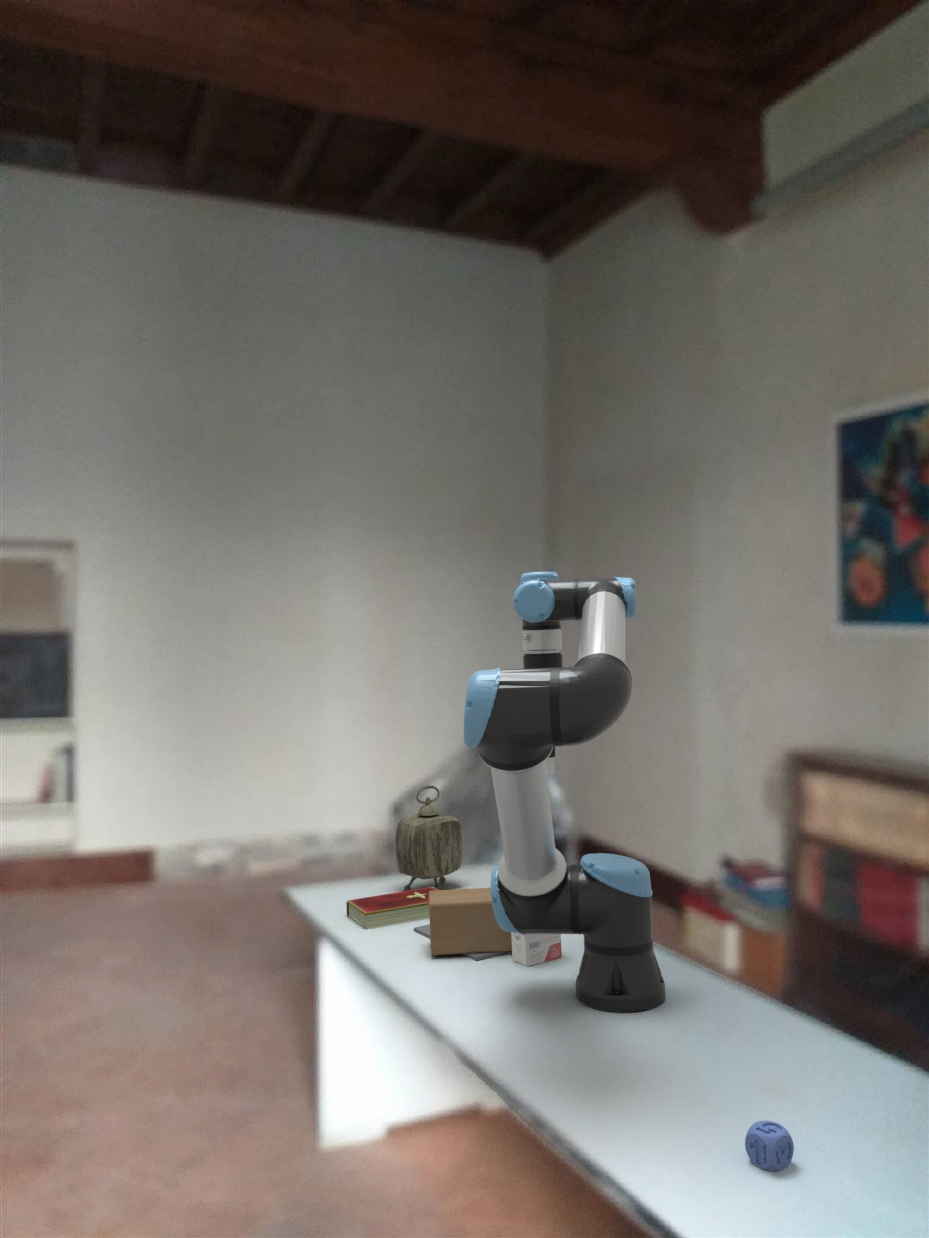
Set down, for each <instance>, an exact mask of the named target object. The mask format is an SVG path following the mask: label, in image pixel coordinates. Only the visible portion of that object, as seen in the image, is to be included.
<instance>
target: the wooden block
mask: <svg viewBox="0 0 929 1238" xmlns="http://www.w3.org/2000/svg"><path fill="white" fill-rule="evenodd" d="M429 917H430V918H429V924H430V938H429V939H430V940H429V941H430V953H431V955H433V956H440V955H441V956H442V955H460V954H462V955H463V954H464V953H483V952H502V951H512V939H511V932H506V931H504V930H503V929H501V928H500V926H499V925H498V923H497V921H496V918H495V915H494V912H493V907H492V897H491V887H476V888H460V889H459V888H458V889H454V888H453V889H440V890H433V891H429Z"/></svg>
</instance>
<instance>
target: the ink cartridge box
mask: <svg viewBox="0 0 929 1238" xmlns="http://www.w3.org/2000/svg"><path fill="white" fill-rule="evenodd" d="M511 939H512V952H511V953H512V954H511V956H512V957H511V958H512V961H513V962H515V963H518V964H520V965H523V966H525V967H530V966H534V965H538V964H542V963H545V962H548V961H551V960H555V959H558V958H561V957H562V956H563V955H562V954H563V953H562V952H563V951H562V934H520V933H513V932H511Z"/></svg>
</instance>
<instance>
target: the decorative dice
mask: <svg viewBox="0 0 929 1238" xmlns="http://www.w3.org/2000/svg"><path fill="white" fill-rule="evenodd" d="M794 1145H795V1144H794V1141H793V1138H792V1136H791V1134H790V1132H789V1131H788V1129H787V1128H786V1127H784V1125H782V1124H781V1123H779V1122H776V1121H774V1120H772V1121H771V1120H758V1121H756V1122H754V1123H753V1124H752V1125H750V1127H749V1128H748V1129H747V1132H746V1135H745V1139H744V1146H745V1147H744V1148H745V1152H746V1154H747V1156H748V1158H749V1160H750V1161H751V1162H752V1164H754V1165H755V1166H756V1167H757V1168H758V1169H761V1170H763V1171H767V1172H780V1171H783V1170H785V1169H786V1168H787V1167H788V1166H789V1165H790V1163H791V1162H792V1159H793V1156H794V1152H795V1150H794V1149H795V1147H794Z"/></svg>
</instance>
